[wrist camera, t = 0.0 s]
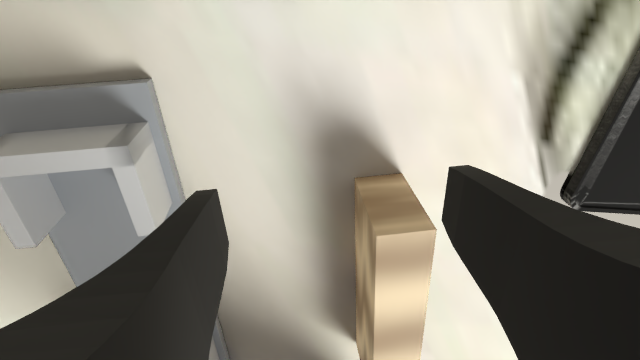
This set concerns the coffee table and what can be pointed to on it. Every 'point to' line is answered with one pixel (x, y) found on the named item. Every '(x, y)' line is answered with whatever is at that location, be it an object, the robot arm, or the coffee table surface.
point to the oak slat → (391, 268)
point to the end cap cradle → (87, 173)
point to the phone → (611, 156)
